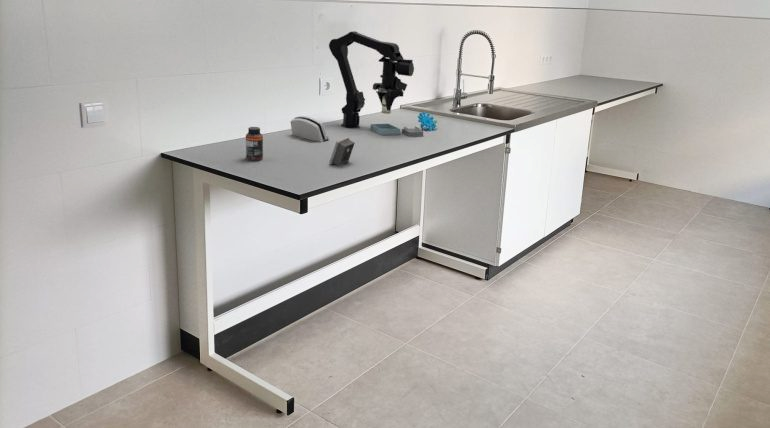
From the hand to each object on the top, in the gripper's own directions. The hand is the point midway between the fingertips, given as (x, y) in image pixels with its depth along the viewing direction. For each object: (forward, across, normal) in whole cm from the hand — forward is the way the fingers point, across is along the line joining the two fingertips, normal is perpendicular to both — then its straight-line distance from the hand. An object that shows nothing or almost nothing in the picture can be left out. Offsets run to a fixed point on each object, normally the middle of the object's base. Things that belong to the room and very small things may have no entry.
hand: (386, 109), depth 289 cm
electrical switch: (+10, -44, +39) cm, 60 cm away
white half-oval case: (+11, -6, +38) cm, 39 cm away
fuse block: (+10, -7, -10) cm, 16 cm away
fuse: (+2, 0, 0) cm, 2 cm away
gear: (+10, +2, -23) cm, 25 cm away
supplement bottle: (+10, -33, +68) cm, 76 cm away
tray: (+10, 0, 0) cm, 10 cm away
